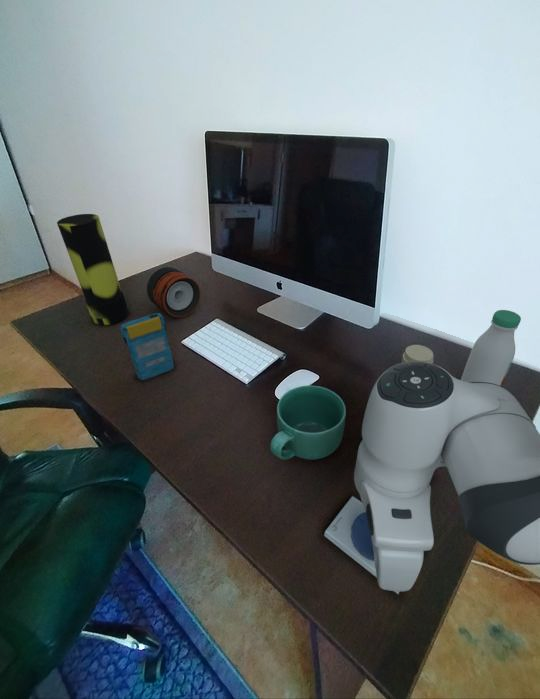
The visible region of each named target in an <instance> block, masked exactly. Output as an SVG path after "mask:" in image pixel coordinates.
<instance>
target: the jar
mask: <svg viewBox="0 0 540 699" xmlns="http://www.w3.org/2000/svg"><path fill="white" fill-rule="evenodd" d="M411 361H419V362H427V363H431V364H434V353H433V351H432V349H431V348H429V347H427V346H424V345H421V344H411V345H408V346H407V347H406V348H405V351H404V352H403V353H402V357H401V362H400V363H403V362H411Z"/></svg>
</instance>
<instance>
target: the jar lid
mask: <svg viewBox="0 0 540 699" xmlns="http://www.w3.org/2000/svg"><path fill="white" fill-rule="evenodd" d="M351 539H352V542H353V545H354V547H355V548H356V550H357V551H358V552H359V553H360V555H362V556H364V557H365V558H367V559H369V560H372V561H374V552H373V545H372V538H371V534H370V529H369V524H368V520H367V516H366V512H364V513H361V514H360V515H358V516H357V517H356V518H355V520H354V522H353V525H352V527H351Z"/></svg>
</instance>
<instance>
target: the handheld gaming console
mask: <svg viewBox="0 0 540 699" xmlns="http://www.w3.org/2000/svg"><path fill="white" fill-rule="evenodd" d="M119 329H120V333H121V336H122V338H123V341H124V343H125V344H126V346H127V349H128V352H129V355H130V359H131V361H132V364H133V367H134V371H135V373H136V376H137V378H138V379H139V380H141V381H147V380H149V379H152V378H155V377H157V376H160V375H162V374H165V373H167V372H170V371H172V370H174V368H175V364H174V358H173V355H172V350H171V348H170V343H169V338H168V335H167V325H166V322H165V319H164V316H163V315H162V314H161V312H158V313H157V312H155V313H153V314H149V315H146V316H143V317H140V318H137V319H134V320H129V321H127V322H123V324H121V325H120V328H119Z"/></svg>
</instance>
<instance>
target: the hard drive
mask: <svg viewBox="0 0 540 699" xmlns="http://www.w3.org/2000/svg"><path fill="white" fill-rule="evenodd" d="M364 512H366V511H365V508H364V506H363V503H362V501H361V500H359V499H358V498H357V497H355V496H354V495H352V496H351V497H350V498H349V500H348V501H347V502H346V503H345V505H344V506H343V508H342V509H341V510H340V511H339V513H338V514H337V515H336V516H335V518H334V519H333V521H332V522H331V523H330V524H329V526H328V527H327V528H326V529H325V531H324V534H323V536H324V537H325V538H326V539H327V540H329V541H330V542H331V543H332V544H333V545H335V546H336V547H337V548H339V549H340V550H341V551H342V552H343V553H345V554H346V555H347V556H349V557H350V558H351V559H353V560H354V561H355V562H356V563H358V564H359V565H360V566H361V567H363V568H364V569H365V570H366V571H368V572H369V573H370V574H371V575H373V576H374V577H375V578H377V574H376V568H375V562H374V561H372V560H369V559H367V558H365V557H364V556H362V555H360V553H359V552H358V551H357V550H356V548H355V547H354V545H353V542H352V539H351V527H352V525H353V522H354V520H355V518H356V517H357V516H358V515H360V514H361V513H364ZM393 592H394V593H395V594H396V595H399V594H400V592H401V591H393Z"/></svg>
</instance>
